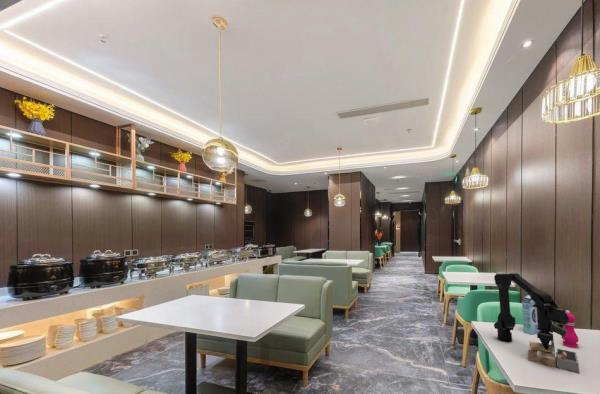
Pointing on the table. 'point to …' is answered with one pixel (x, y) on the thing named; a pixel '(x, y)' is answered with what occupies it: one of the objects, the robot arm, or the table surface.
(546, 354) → the bench
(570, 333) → the pepper mill
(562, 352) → the tile
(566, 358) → the box
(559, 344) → the table surface
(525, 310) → the gum box
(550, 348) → the scraper
